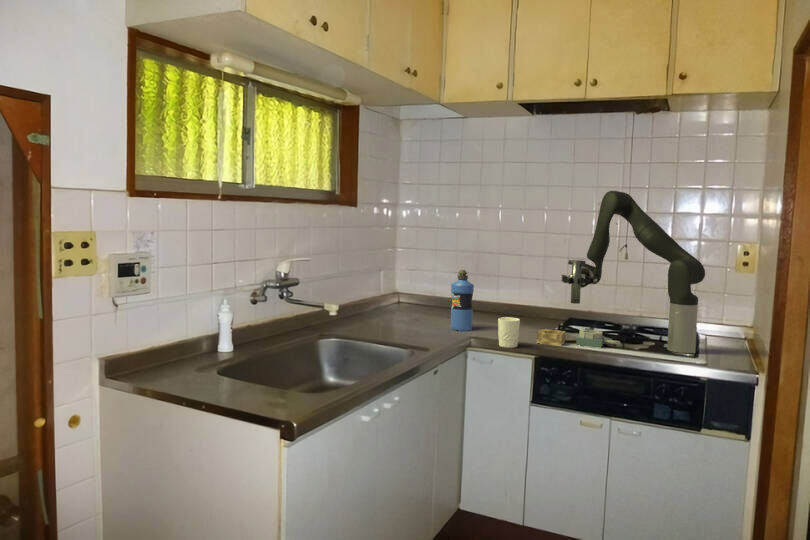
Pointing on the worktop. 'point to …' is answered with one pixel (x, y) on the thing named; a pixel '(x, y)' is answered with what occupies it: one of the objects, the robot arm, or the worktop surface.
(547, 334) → the tan flat block
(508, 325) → the white cup
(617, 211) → the robot arm
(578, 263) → the chuck key
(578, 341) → the chuck block
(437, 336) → the worktop surface
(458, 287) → the water bottle
